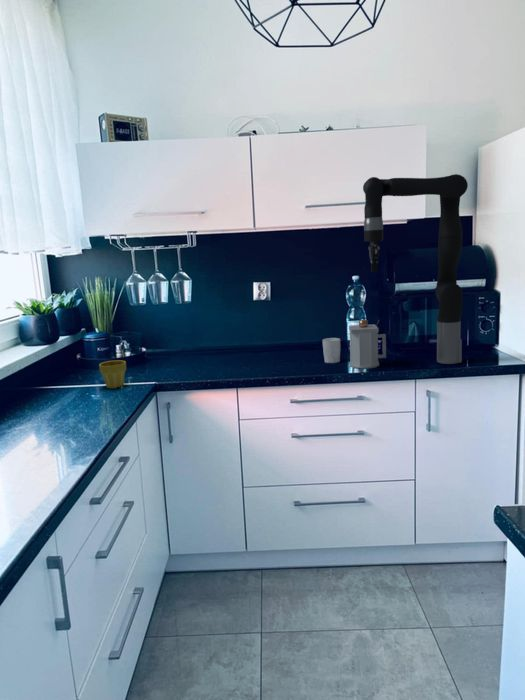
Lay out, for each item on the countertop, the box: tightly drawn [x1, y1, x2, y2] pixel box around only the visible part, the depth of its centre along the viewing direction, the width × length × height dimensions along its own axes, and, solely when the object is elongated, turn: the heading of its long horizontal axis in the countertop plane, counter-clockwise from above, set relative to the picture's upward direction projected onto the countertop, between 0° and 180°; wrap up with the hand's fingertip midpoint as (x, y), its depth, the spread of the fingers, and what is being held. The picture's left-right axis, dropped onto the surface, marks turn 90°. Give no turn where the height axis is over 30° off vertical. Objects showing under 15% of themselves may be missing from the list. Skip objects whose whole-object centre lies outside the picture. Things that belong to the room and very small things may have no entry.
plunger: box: [358, 319, 369, 328], centre depth 230 cm, size 9×9×16 cm
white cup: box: [321, 337, 341, 364], centre depth 242 cm, size 8×8×10 cm
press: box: [348, 324, 387, 370], centre depth 230 cm, size 15×12×16 cm
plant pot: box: [98, 359, 127, 389], centre depth 221 cm, size 10×10×10 cm
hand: (374, 272), depth 224 cm, fingers closed
